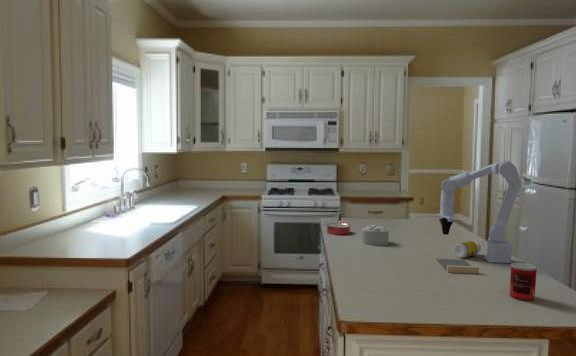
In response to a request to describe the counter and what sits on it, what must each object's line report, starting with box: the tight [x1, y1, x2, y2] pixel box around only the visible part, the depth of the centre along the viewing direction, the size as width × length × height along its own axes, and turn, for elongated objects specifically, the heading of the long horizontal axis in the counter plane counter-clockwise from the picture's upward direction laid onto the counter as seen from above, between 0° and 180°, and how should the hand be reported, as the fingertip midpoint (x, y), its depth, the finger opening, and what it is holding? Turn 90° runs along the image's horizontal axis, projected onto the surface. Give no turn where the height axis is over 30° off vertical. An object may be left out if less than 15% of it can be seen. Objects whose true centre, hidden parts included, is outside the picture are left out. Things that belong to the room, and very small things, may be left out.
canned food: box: [509, 262, 538, 302], centre depth 153 cm, size 8×8×11 cm
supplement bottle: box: [453, 240, 482, 259], centre depth 206 cm, size 7×7×13 cm
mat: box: [436, 258, 480, 274], centre depth 189 cm, size 12×19×2 cm, turn 175°
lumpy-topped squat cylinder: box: [361, 224, 390, 246], centre depth 229 cm, size 10×13×9 cm
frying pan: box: [326, 213, 351, 236], centre depth 262 cm, size 32×13×6 cm, turn 177°
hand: (445, 234), depth 208 cm, fingers closed
